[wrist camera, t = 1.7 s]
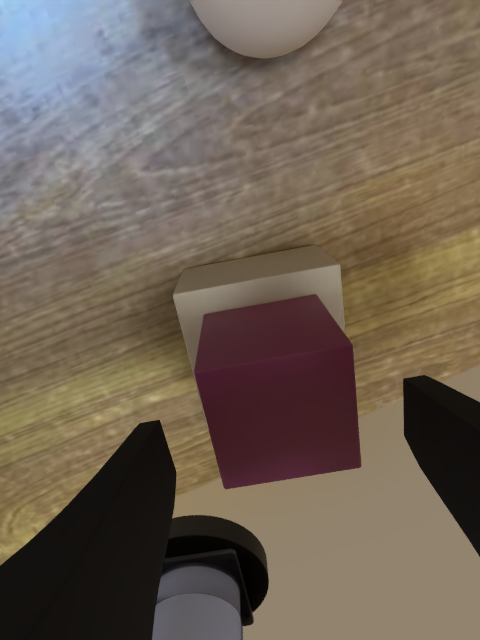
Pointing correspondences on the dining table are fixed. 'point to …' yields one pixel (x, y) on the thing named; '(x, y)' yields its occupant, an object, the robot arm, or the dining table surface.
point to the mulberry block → (278, 392)
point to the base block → (255, 287)
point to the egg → (264, 23)
